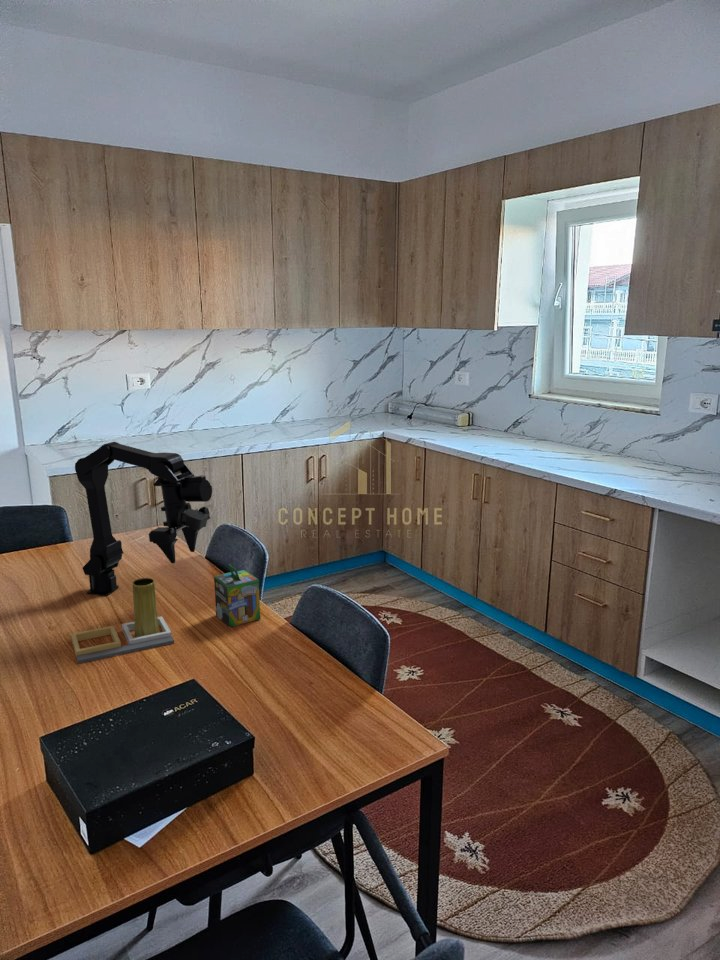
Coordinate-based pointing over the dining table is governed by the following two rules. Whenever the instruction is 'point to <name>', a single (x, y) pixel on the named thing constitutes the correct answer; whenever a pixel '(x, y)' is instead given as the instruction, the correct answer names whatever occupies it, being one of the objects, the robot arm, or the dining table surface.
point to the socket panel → (115, 646)
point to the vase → (144, 607)
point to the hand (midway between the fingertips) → (183, 557)
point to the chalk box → (237, 597)
